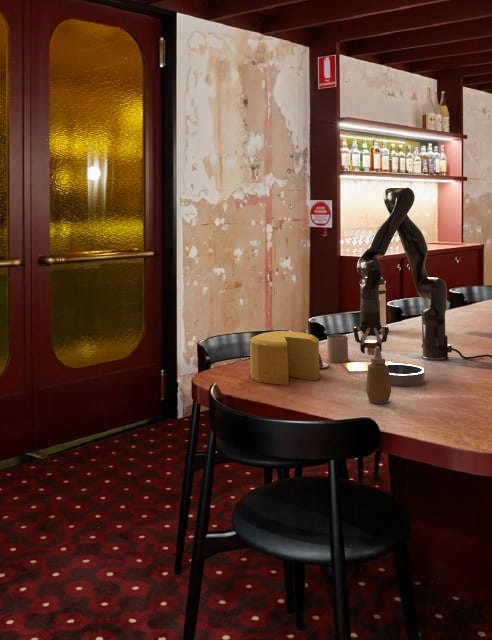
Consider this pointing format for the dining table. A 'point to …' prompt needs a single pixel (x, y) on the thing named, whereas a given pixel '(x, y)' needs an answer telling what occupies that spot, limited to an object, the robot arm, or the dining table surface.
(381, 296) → the coffee press
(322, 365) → the pudding
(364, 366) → the board
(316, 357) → the cheese
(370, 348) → the mushroom
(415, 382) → the bowl
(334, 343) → the cup
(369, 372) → the squeeze bottle
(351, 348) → the dining table surface
